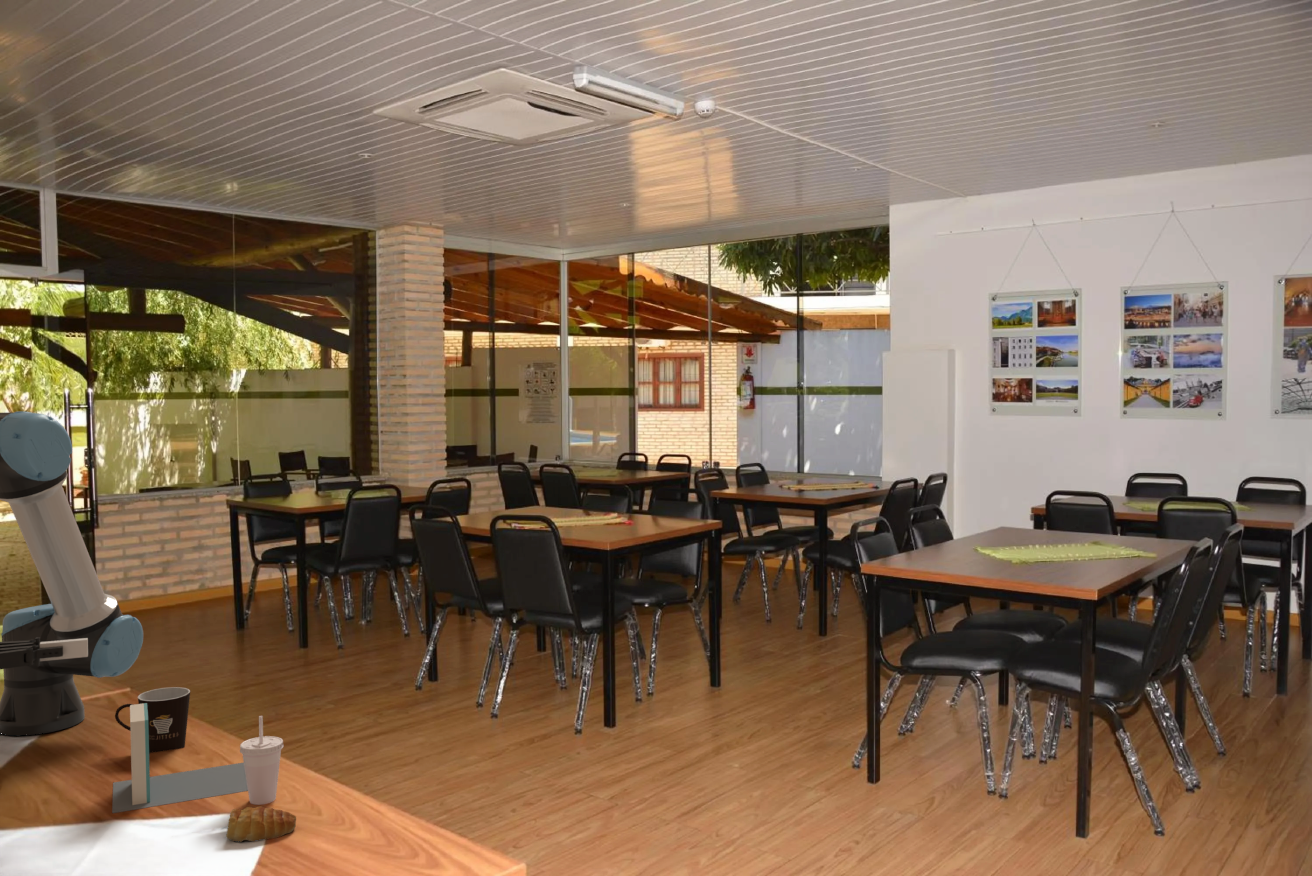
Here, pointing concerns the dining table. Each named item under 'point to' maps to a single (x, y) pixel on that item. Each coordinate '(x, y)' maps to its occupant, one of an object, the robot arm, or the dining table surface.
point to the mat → (183, 787)
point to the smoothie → (262, 766)
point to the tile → (140, 754)
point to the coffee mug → (164, 717)
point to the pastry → (259, 823)
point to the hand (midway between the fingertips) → (87, 647)
